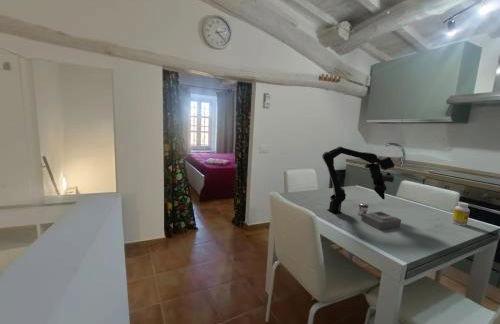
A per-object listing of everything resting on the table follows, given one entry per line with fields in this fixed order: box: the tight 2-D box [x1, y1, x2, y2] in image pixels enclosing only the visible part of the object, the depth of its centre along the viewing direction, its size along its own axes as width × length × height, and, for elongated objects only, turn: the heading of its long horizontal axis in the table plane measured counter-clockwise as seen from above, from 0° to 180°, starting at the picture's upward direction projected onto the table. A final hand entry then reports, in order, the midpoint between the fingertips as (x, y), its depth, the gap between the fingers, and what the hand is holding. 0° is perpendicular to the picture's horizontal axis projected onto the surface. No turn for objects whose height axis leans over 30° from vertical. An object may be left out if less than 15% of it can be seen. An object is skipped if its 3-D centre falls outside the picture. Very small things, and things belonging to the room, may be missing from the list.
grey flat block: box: [361, 211, 402, 230], centre depth 131 cm, size 16×12×6 cm
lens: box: [357, 202, 369, 217], centre depth 143 cm, size 5×5×7 cm
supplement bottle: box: [451, 201, 471, 227], centre depth 137 cm, size 7×7×13 cm
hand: (383, 196), depth 141 cm, fingers open, 9 cm apart
